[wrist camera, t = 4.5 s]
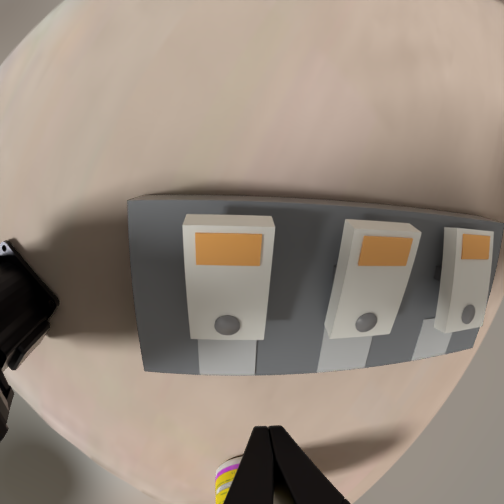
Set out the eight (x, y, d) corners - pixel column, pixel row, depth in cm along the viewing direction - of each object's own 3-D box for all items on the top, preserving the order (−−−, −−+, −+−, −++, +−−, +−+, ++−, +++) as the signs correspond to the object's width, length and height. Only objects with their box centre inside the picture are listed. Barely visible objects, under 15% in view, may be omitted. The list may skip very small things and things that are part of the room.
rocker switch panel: (154, 345, 19) (142, 376, 16) (143, 194, 17) (124, 201, 13) (452, 331, 21) (475, 350, 18) (478, 215, 19) (509, 224, 15)
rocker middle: (381, 321, 16) (390, 335, 15) (324, 324, 16) (330, 340, 15) (409, 223, 14) (422, 233, 12) (345, 219, 13) (355, 229, 12)
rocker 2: (470, 321, 16) (483, 326, 14) (433, 327, 15) (445, 334, 14) (481, 230, 15) (494, 231, 14) (444, 227, 15) (458, 227, 14)
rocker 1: (261, 324, 16) (263, 341, 15) (192, 323, 15) (190, 340, 14) (271, 216, 13) (275, 228, 12) (186, 214, 13) (182, 226, 11)
